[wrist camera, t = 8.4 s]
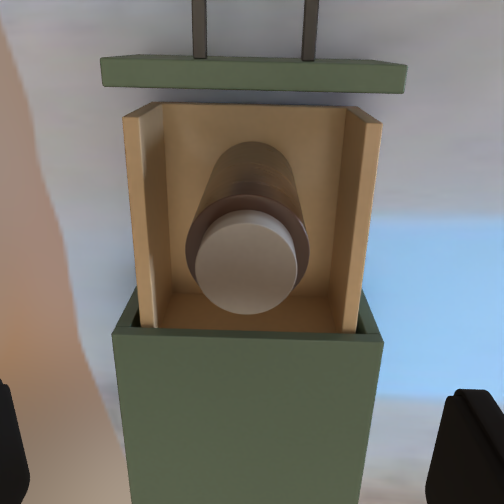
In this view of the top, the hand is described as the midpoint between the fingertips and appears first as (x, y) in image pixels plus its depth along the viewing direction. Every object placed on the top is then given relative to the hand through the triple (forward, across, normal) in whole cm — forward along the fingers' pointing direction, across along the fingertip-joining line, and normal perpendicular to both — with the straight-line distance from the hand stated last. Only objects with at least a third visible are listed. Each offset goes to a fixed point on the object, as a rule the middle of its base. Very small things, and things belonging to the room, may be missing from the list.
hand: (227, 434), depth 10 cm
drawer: (+21, 0, -2) cm, 21 cm away
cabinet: (+22, 0, +15) cm, 27 cm away
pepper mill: (+20, 0, 0) cm, 20 cm away
